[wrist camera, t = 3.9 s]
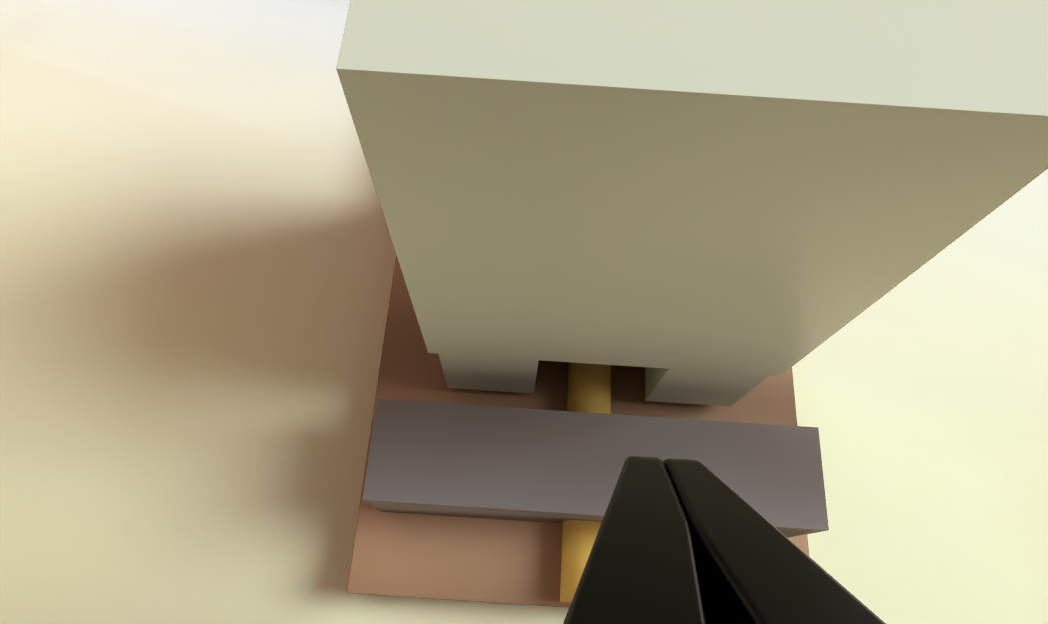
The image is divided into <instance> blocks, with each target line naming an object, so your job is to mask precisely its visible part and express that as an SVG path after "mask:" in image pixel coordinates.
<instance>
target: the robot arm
mask: <svg viewBox="0 0 1048 624" xmlns="http://www.w3.org/2000/svg"><path fill="white" fill-rule="evenodd" d="M563 624H886V623H884V622H883V621H882V620H881V619H880V618H879V617H878V616H876V615H875V614H874V613H873V612H872V611H871V610H870V609H868V608H867V607H866V606H865V605H864V604H863V603H862V602H860V601H859V600H858V599H857V598H856V597H855V596H854V595H852V594H851V593H850V592H849V591H848V590H847V589H846V588H844V587H843V586H842V585H841V584H840V583H839V582H837V581H836V580H835V579H834V578H833V577H832V576H831V575H829V574H828V573H827V572H826V571H825V570H824V569H823V568H821V567H820V566H819V565H818V564H817V563H816V562H815V561H813V560H812V559H811V558H810V557H809V556H808V555H807V554H805V553H804V552H803V551H802V550H801V549H800V548H799V547H797V546H796V545H795V544H794V543H793V542H792V541H791V540H789V539H788V538H787V537H786V536H785V535H784V534H783V533H781V532H780V531H779V530H778V529H777V528H776V527H775V526H773V525H772V524H771V523H770V522H769V521H768V520H767V519H765V518H764V517H763V516H762V515H761V514H760V513H759V512H757V511H756V510H755V509H754V508H753V507H752V506H751V505H749V504H748V503H747V502H746V501H745V500H744V499H743V498H741V497H740V496H739V495H738V494H737V493H736V492H734V491H733V490H732V489H731V488H730V487H729V486H728V485H726V484H725V483H724V482H723V481H722V480H721V479H720V478H718V477H717V476H716V475H715V474H714V473H713V472H712V471H710V470H709V469H708V468H707V467H706V466H705V465H704V464H702V463H701V462H699V461H697V460H688V459H671V458H668V459H666V460H664V461H662V460H661V459H660V458H656V457H642V456H629V457H627V458H626V460H625V462H624V465H623V468H622V470H621V473H620V476H619V478H618V481H617V484H616V486H615V489H614V491H613V494H612V497H611V499H610V502H609V505H608V507H607V510H606V513H605V515H604V518H603V520H602V523H601V526H600V528H599V531H598V534H597V536H596V539H595V542H594V544H593V547H592V549H591V552H590V555H589V557H588V560H587V563H586V565H585V568H584V571H583V573H582V576H581V578H580V581H579V584H578V586H577V589H576V592H575V594H574V597H573V600H572V602H571V605H570V607H569V610H568V613H567V615H566V618H565V621H564V623H563Z"/></svg>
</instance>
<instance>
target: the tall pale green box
mask: <svg viewBox="0 0 1048 624" xmlns="http://www.w3.org/2000/svg"><path fill="white" fill-rule="evenodd" d="M336 69H337V72H338V75H339V78H340V81H341V84H342V88H343V91H344V94H345V97H346V100H347V103H348V106H349V109H350V112H351V115H352V119H353V122H354V125H355V128H356V131H357V134H358V137H359V140H360V143H361V146H362V149H363V153H364V156H365V159H366V162H367V165H368V168H369V171H370V174H371V177H372V180H373V184H374V187H375V190H376V193H377V196H378V199H379V202H380V205H381V208H382V211H383V215H384V218H385V221H386V224H387V227H388V230H389V233H390V236H391V239H392V242H393V245H394V249H395V252H396V255H397V258H398V261H399V264H400V267H401V270H402V273H403V276H404V280H405V283H406V286H407V289H408V292H409V295H410V298H411V301H412V304H413V307H414V310H415V314H416V317H417V320H418V323H419V326H420V329H421V332H422V335H423V338H424V341H425V345H426V348H427V351H428V353H436V354H439V358H440V362H441V365H442V369H443V372H444V376H445V379H446V383H447V386H448V388H456V389H471V390H487V391H502V392H517V393H533V394H534V389H535V382H536V375H537V369H538V362H539V360H543V361H558V362H574V363H589V364H604V365H619V366H635V367H645V401H655V402H670V403H685V404H700V405H716V406H732V405H733V404H735V403H736V402H737V401H738V400H740V399H741V398H742V397H743V396H745V395H746V394H747V393H748V392H750V391H751V390H752V389H753V388H755V387H756V386H757V385H758V384H760V383H761V382H762V381H763V380H764V379H766V378H767V377H768V376H769V375H772V376H780V375H782V374H783V373H784V372H785V371H787V370H788V369H789V368H791V367H792V366H793V365H795V364H796V363H797V362H798V361H800V360H801V359H802V358H804V357H805V356H806V355H807V354H809V353H810V352H811V351H813V350H814V349H815V348H816V347H818V346H819V345H820V344H822V343H823V342H824V341H826V340H827V339H828V338H829V337H831V336H832V335H833V334H835V333H836V332H837V331H838V330H840V329H841V328H842V327H844V326H845V325H846V324H847V323H849V322H850V321H851V320H853V319H854V318H855V317H857V316H858V315H859V314H860V313H862V312H863V311H864V310H866V309H867V308H868V307H869V306H871V305H872V304H873V303H875V302H876V301H877V300H878V299H880V298H881V297H882V296H884V295H885V294H886V293H888V292H889V291H890V290H891V289H893V288H894V287H895V286H897V285H898V284H899V283H900V282H902V281H903V280H904V279H906V278H907V277H908V276H909V275H911V274H912V273H913V272H915V271H916V270H917V269H919V268H920V267H921V266H922V265H924V264H925V263H926V262H928V261H929V260H930V259H931V258H933V257H934V256H935V255H937V254H938V253H939V252H940V251H942V250H943V249H944V248H946V247H947V246H948V245H950V244H951V243H952V242H953V241H955V240H956V239H957V238H959V237H960V236H961V235H962V234H964V233H965V232H966V231H968V230H969V229H970V228H971V227H973V226H974V225H975V224H977V223H978V222H979V221H981V220H982V219H983V218H984V217H986V216H987V215H988V214H990V213H991V212H992V211H993V210H995V209H996V208H997V207H999V206H1000V205H1001V204H1003V203H1004V202H1005V201H1006V200H1008V199H1009V198H1010V197H1012V196H1013V195H1014V194H1015V193H1017V192H1018V191H1019V190H1021V189H1022V188H1023V187H1024V186H1026V185H1027V184H1028V183H1030V182H1031V181H1032V180H1034V179H1035V178H1036V177H1037V176H1039V175H1040V174H1041V173H1043V172H1044V171H1045V170H1046V169H1048V0H350V5H349V10H348V15H347V20H346V25H345V29H344V34H343V39H342V44H341V49H340V53H339V58H338V63H337V68H336Z"/></svg>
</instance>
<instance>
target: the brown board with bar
mask: <svg viewBox="0 0 1048 624" xmlns="http://www.w3.org/2000/svg"><path fill="white" fill-rule="evenodd" d="M629 456H642V457H656V458H660V459H661V460H662V461H664V460H666V459H668V458H671V459H688V460H697V461H699V462H701V463H702V464H704V465H705V466H706V467H707V468H708V469H709V470H710V471H712V472H713V473H714V474H715V475H716V476H717V477H718V478H720V479H721V480H722V481H723V482H724V483H725V484H726V485H728V486H729V487H730V488H731V489H732V490H733V491H734V492H736V493H737V494H738V495H739V496H740V497H741V498H743V499H744V500H745V501H746V502H747V503H748V504H749V505H751V506H752V507H753V508H754V509H755V510H756V511H757V512H759V513H760V514H761V515H762V516H763V517H764V518H765V519H767V520H768V521H769V522H770V523H771V524H772V525H773V526H775V527H776V528H777V529H778V530H779V531H780V532H781V533H783V534H784V535H785V536H786V537H787V538H788V539H789V540H791V541H792V542H793V543H794V544H795V545H796V546H797V547H799V548H800V549H801V550H802V551H803V552H804V553H805V554H807V555H808V556H809V549H808V538H807V534H810V533H816V532H821V531H827V530H829V528H828V519H827V509H826V499H825V490H824V480H823V470H822V461H821V451H820V441H819V432H818V428H816V427H801V426H797V419H796V408H795V397H794V386H793V375H792V367H791V368H789V369H788V370H787V371H785V372H784V373H783V374H782V375H780V376H772V375H769V376H768V377H767V378H766V379H764V380H763V381H762V382H761V383H760V384H758V385H757V386H756V387H755V388H753V389H752V390H751V391H750V392H748V393H747V394H746V395H745V396H743V397H742V398H741V399H740V400H738V401H737V402H736V403H735V404H733V405H732V406H716V405H700V404H685V403H670V402H655V401H645V367H635V366H619V365H604V364H589V363H574V362H558V361H543V360H539V362H538V369H537V375H536V382H535V389H534V394H533V393H517V392H502V391H487V390H471V389H456V388H448V386H447V383H446V379H445V376H444V372H443V369H442V365H441V362H440V358H439V354H436V353H428V351H427V348H426V345H425V341H424V338H423V335H422V332H421V329H420V326H419V323H418V320H417V317H416V314H415V310H414V307H413V304H412V301H411V298H410V295H409V292H408V289H407V286H406V283H405V280H404V276H403V273H402V270H401V267H400V264H399V261H398V258H397V255H396V262H395V269H394V275H393V282H392V289H391V296H390V303H389V310H388V316H387V323H386V330H385V337H384V344H383V351H382V358H381V364H380V371H379V378H378V385H377V392H376V399H375V406H374V412H373V419H372V426H371V433H370V440H369V447H368V453H367V460H366V467H365V474H364V481H363V488H362V495H361V501H360V508H359V515H358V522H357V529H356V536H355V542H354V549H353V556H352V563H351V570H350V577H349V584H348V590H347V593H357V594H373V595H388V596H404V597H419V598H434V599H450V600H465V601H481V602H496V603H512V604H527V605H542V606H558V607H570V605H571V602H572V600H573V597H574V594H575V592H576V589H577V586H578V584H579V581H580V578H581V576H582V573H583V571H584V568H585V565H586V563H587V560H588V557H589V555H590V552H591V549H592V547H593V544H594V542H595V539H596V536H597V534H598V531H599V528H600V526H601V523H602V520H603V518H604V515H605V513H606V510H607V507H608V505H609V502H610V499H611V497H612V494H613V491H614V489H615V486H616V484H617V481H618V478H619V476H620V473H621V470H622V468H623V465H624V462H625V460H626V458H627V457H629Z"/></svg>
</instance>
